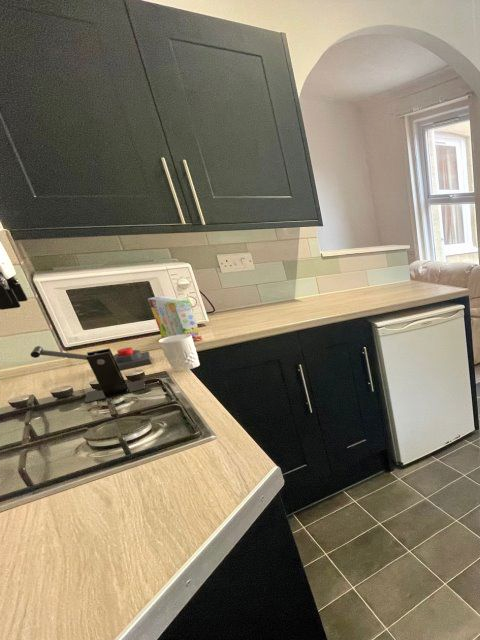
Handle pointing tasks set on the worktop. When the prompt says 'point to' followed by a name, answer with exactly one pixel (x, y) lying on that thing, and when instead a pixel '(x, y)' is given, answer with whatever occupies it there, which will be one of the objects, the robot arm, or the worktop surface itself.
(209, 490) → the worktop surface
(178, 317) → the snack box
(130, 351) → the button
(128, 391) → the lever stand
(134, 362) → the button box
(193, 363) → the white cup
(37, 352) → the press lever
